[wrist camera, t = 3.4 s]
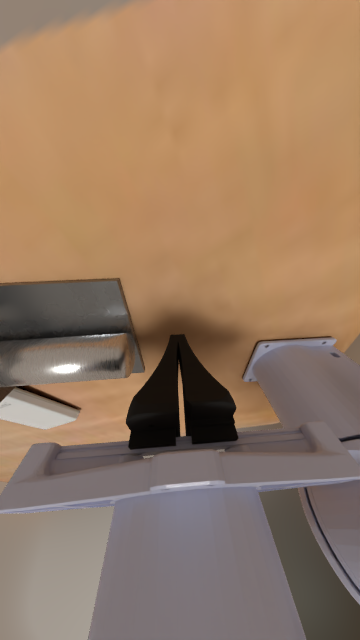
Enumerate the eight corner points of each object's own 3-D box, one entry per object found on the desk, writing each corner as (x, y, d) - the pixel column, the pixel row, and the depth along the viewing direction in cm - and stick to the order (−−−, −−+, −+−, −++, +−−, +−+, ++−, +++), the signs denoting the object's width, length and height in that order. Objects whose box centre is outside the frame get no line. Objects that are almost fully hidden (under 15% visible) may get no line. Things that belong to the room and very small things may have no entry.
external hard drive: (50, 419, 25) (-43, 394, 18) (81, 409, 23) (-9, 376, 16) (43, 430, 24) (-60, 407, 17) (76, 420, 22) (-25, 390, 15)
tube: (123, 324, 12) (114, 372, 10) (136, 342, 15) (132, 381, 13) (-90, 338, 11) (-149, 391, 9) (-28, 354, 15) (-61, 395, 13)
